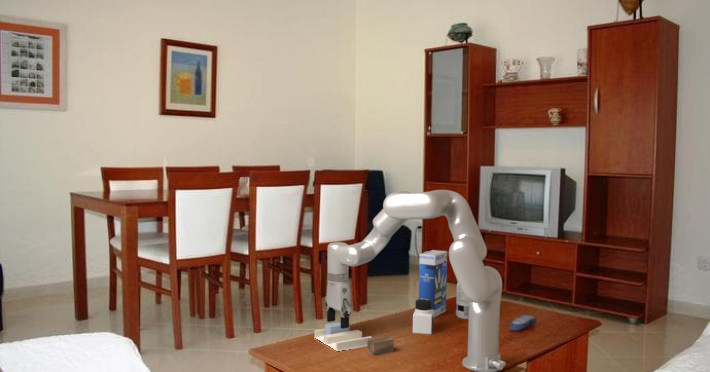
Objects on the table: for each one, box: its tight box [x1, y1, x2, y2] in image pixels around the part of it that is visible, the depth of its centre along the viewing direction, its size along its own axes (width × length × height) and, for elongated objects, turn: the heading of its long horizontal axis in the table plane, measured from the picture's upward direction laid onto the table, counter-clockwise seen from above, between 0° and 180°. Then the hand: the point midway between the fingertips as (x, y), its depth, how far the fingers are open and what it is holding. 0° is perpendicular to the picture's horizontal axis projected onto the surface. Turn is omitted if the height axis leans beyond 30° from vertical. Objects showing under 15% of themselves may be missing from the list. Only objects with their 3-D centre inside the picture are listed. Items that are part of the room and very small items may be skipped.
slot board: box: [314, 328, 373, 352], centre depth 209 cm, size 16×14×3 cm
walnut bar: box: [366, 335, 395, 357], centre depth 199 cm, size 4×8×4 cm, turn 122°
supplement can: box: [455, 282, 470, 320], centre depth 244 cm, size 8×8×15 cm
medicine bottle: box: [412, 298, 434, 335], centre depth 223 cm, size 7×7×12 cm
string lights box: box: [418, 249, 448, 319], centre depth 248 cm, size 13×8×26 cm, turn 149°
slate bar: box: [324, 321, 351, 335], centre depth 213 cm, size 4×8×4 cm, turn 122°
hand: (337, 324), depth 212 cm, fingers open, 9 cm apart
